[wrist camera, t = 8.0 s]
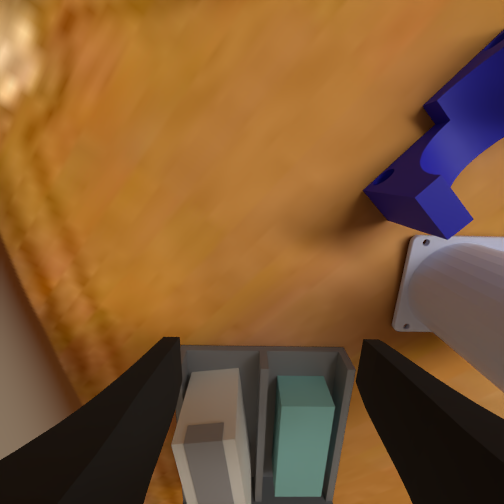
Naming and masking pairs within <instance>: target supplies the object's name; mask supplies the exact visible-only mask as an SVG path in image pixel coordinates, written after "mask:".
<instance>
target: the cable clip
mask: <svg viewBox="0 0 504 504" xmlns="http://www.w3.org/2000/svg"><path fill="white" fill-rule="evenodd" d="M423 107H424V109H425V110H426V112H427V113H428V115H429V116H430V117H431V119H432V120H433V122H434V123H435V125H434V126H433V127H432V128H431V129H430V130H428V131H427V132H426V133H425V134H424V135H423V136H422V137H421V138H420V139H419V140H417V141H416V142H415V143H414V144H413V145H412V146H411V147H410V148H409V149H408V150H406V151H405V152H404V153H403V154H402V155H401V156H400V157H399V158H398V159H397V160H396V161H394V162H393V163H392V164H391V165H390V166H389V167H388V168H387V169H386V170H385V171H383V172H382V173H381V174H380V175H379V176H378V177H377V178H376V179H375V180H374V181H373V182H371V183H370V184H369V185H368V186H367V187H366V188H365V189H364V190H363V191H364V193H365V194H366V195H367V196H368V197H369V199H370V200H371V201H372V202H373V203H374V204H375V206H376V207H377V208H378V209H379V210H380V212H381V213H382V214H383V215H384V216H385V218H386V219H387V220H388V221H391V222H394V223H398V224H401V225H404V226H407V227H410V228H413V229H416V230H419V231H422V232H425V233H428V234H431V235H434V236H437V237H440V238H443V239H446V240H448V239H450V238H451V237H452V236H453V235H455V234H456V233H457V232H458V231H460V230H461V229H462V228H463V227H465V226H466V225H467V224H468V223H470V222H471V221H472V220H474V219H473V218H472V217H471V215H470V214H469V212H468V211H467V210H466V208H465V207H464V206H463V204H462V203H461V202H460V200H459V199H458V197H457V196H456V195H455V193H454V192H453V191H452V189H451V188H450V187H451V185H452V183H453V182H454V180H455V179H456V177H457V176H458V175H459V174H460V172H461V171H462V170H463V169H464V168H465V167H466V166H467V165H468V164H469V163H470V162H471V161H472V160H473V159H474V158H476V157H477V156H478V155H479V154H481V153H482V152H483V151H484V150H486V149H487V148H488V147H490V146H491V145H493V144H494V143H495V142H497V141H498V140H500V139H501V138H503V137H504V30H503V31H502V32H501V33H500V34H499V35H498V36H496V37H495V38H494V39H493V40H492V41H491V42H490V43H489V44H488V45H487V46H486V47H485V48H484V49H483V50H482V51H481V52H479V53H478V54H477V55H476V56H475V57H474V58H473V59H472V60H471V61H470V62H469V63H468V64H467V65H466V66H465V67H464V68H462V69H461V70H460V71H459V72H458V73H457V74H456V75H455V76H454V77H453V78H452V79H451V80H450V81H449V82H448V83H446V84H445V85H444V86H443V87H442V88H441V89H440V90H439V91H438V92H437V93H436V94H435V95H434V96H433V97H432V98H431V99H429V100H428V101H427V102H426V103H425V104H424V105H423Z"/></svg>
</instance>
